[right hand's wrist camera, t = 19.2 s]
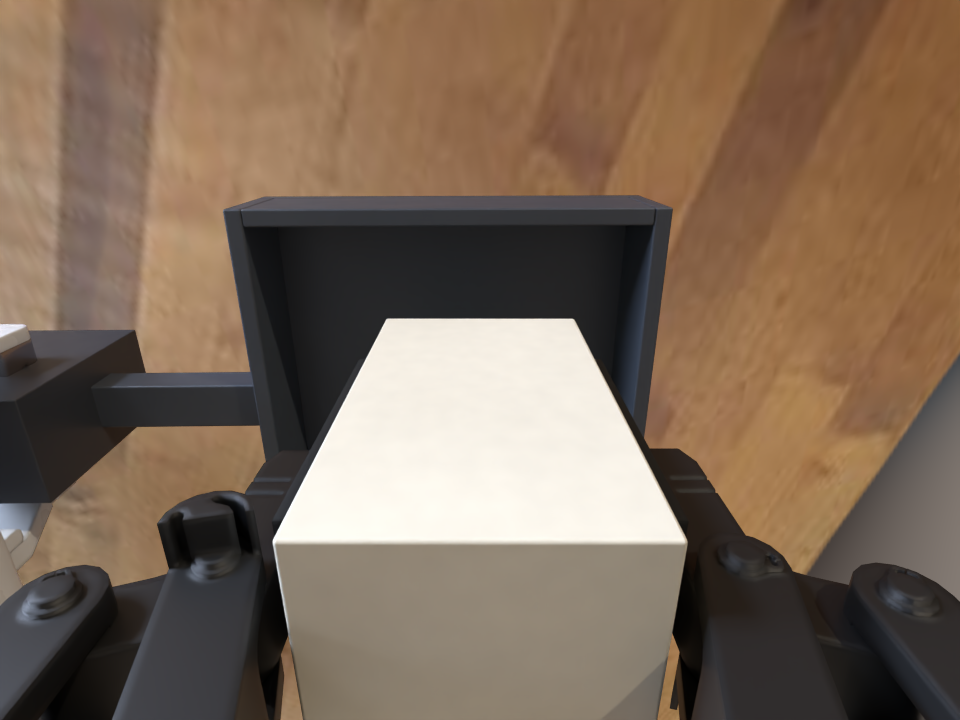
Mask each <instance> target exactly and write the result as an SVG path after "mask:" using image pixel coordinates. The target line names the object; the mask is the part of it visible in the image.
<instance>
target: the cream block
mask: <svg viewBox="0 0 960 720" xmlns="http://www.w3.org/2000/svg"><path fill="white" fill-rule="evenodd" d="M687 544H688V541H687V539H686V537H685V535H684V533H683V531H682V529H681V527H680V525H679V523H678V521H677V519H676V517H675V515H674V513H673V511H672V509H671V507H670V505H669V503H668V501H667V499H666V498H665V496H664V494H663V492H662V490H661V488H660V486H659V484H658V482H657V480H656V478H655V476H654V474H653V472H652V470H651V468H650V466H649V464H648V462H647V460H646V459H645V457H644V455H643V453H642V451H641V449H640V447H639V445H638V443H637V441H636V439H635V437H634V435H633V433H632V431H631V429H630V427H629V425H628V423H627V421H626V419H625V418H624V416H623V414H622V412H621V410H620V408H619V406H618V404H617V402H616V400H615V398H614V396H613V394H612V392H611V390H610V388H609V386H608V384H607V382H606V380H605V379H604V377H603V375H602V373H601V371H600V369H599V367H598V365H597V363H596V361H595V359H594V357H593V355H592V353H591V351H590V349H589V347H588V345H587V343H586V341H585V339H584V338H583V336H582V334H581V332H580V330H579V328H578V326H577V324H576V322H575V320H574V319H386V321H385V323H384V325H383V327H382V329H381V331H380V333H379V335H378V337H377V339H376V340H375V342H374V344H373V346H372V348H371V350H370V352H369V354H368V356H367V358H366V360H365V362H364V364H363V366H362V368H361V370H360V372H359V374H358V376H357V377H356V379H355V381H354V383H353V385H352V387H351V389H350V391H349V393H348V395H347V397H346V399H345V401H344V403H343V405H342V407H341V409H340V411H339V412H338V414H337V416H336V418H335V420H334V422H333V424H332V426H331V428H330V430H329V432H328V434H327V436H326V438H325V440H324V442H323V444H322V446H321V448H320V449H319V451H318V453H317V455H316V457H315V459H314V461H313V463H312V465H311V467H310V469H309V471H308V473H307V475H306V477H305V479H304V481H303V483H302V484H301V486H300V488H299V490H298V492H297V494H296V496H295V498H294V500H293V502H292V504H291V506H290V508H289V510H288V512H287V514H286V516H285V518H284V520H283V521H282V523H281V525H280V527H279V529H278V531H277V533H276V535H275V537H274V539H273V547H274V553H275V559H276V565H277V571H278V576H279V582H280V588H281V594H282V600H283V605H284V611H285V617H286V623H287V629H288V634H289V640H290V646H291V652H292V658H293V663H294V669H295V675H296V681H297V687H298V692H299V698H300V704H301V710H302V716H303V720H657V717H658V711H659V705H660V699H661V694H662V688H663V682H664V676H665V671H666V665H667V659H668V653H669V648H670V642H671V636H672V630H673V625H674V619H675V613H676V607H677V602H678V596H679V590H680V585H681V579H682V573H683V567H684V562H685V556H686V550H687Z"/></svg>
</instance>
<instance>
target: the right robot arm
mask: <svg viewBox="0 0 960 720" xmlns="http://www.w3.org/2000/svg"><path fill="white" fill-rule="evenodd" d="M365 360H366V359H359V361H358V363H357V364H356V366H355V368H354V370H353V372H352V374H351V376H350V377H349V379H348V381H347V383H346V385H345V387H344V388H343V390H342V392H341V394H340V396H339V398H338V400H337V401H336V403H335V405H334V407H333V409H332V411H331V412H330V414H329V416H328V418H327V420H326V422H325V424H324V425H323V427H322V429H321V431H320V433H319V435H318V436H317V438H316V440H315V442H314V444H313V446H312V448H311V449H310V450H282V451H281V452H279V453H278V454H277V455H275V456H274V457H272V458H271V459H270V460H268V461H267V462H266V463H264V464H263V466H262V467H261V469H260V470H259V472H258V473H257V475H256V477H255V478H254V482H252V483H251V484H250V486H249V487H248V489H247V490H246V492H245V494H242V493H238V492H234V491H214V492H209V493H205V494H201V495H197V496H194V497H192V498H190V499H187V500H185V501H183V502H180V503H179V504H177V505H176V506H174V507H173V508H172V509H170V510H169V511H167V512H166V513H165V514H164V515H163V517H162V518H161V519H160V521H159V522H158V523H157V526H158V529H159V533H160V537H161V541H162V544H163V548H164V552H165V556H166V560H167V563H168V567H169V570H168V573H167V574H165V575H162V576H158V577H155V578H151V579H147V580H142V581H138V582H133V583H129V584H124V585H120V586H115V587H112V585H111V582H110V579H109V576H108V574H107V573H106V572H105V571H104V570H102V569H101V568H100V567H95V566H89V565H80V566H72V567H66V568H63V569H60V570H57V571H53V572H50V573H47V574H45V575H43V576H41V577H39V578H37V579H35V580H33V581H31V582H29V583H28V584H26V585H24V586H23V587H22V588H20V589H19V590H18V591H16V592H15V593H14V594H13V595H11V596H10V597H9V598H7V599H6V600H5V601H4V602H3V603H2V604H1V605H0V720H280V718H281V707H282V696H283V684H284V671H283V665H282V659H281V653H282V650H283V647H284V645H285V642H286V640H287V637H288V629H287V623H286V617H285V611H284V605H283V600H282V594H281V588H280V582H279V576H278V571H277V565H276V559H275V553H274V547H273V539H274V537H275V535H276V533H277V531H278V529H279V527H280V525H281V523H282V521H283V520H284V518H285V516H286V514H287V512H288V510H289V508H290V506H291V504H292V502H293V500H294V498H295V496H296V494H297V492H298V490H299V488H300V486H301V484H302V483H303V481H304V479H305V477H306V475H307V473H308V471H309V469H310V467H311V465H312V463H313V461H314V459H315V457H316V455H317V453H318V451H319V449H320V448H321V446H322V444H323V442H324V440H325V438H326V436H327V434H328V432H329V430H330V428H331V426H332V424H333V422H334V420H335V418H336V416H337V414H338V412H339V411H340V409H341V407H342V405H343V403H344V401H345V399H346V397H347V395H348V393H349V391H350V389H351V387H352V385H353V383H354V381H355V379H356V377H357V376H358V374H359V372H360V370H361V368H362V366H363V364H364V362H365ZM595 361H596V363H597V365H598V367H599V369H600V371H601V373H602V375H603V377H604V379H605V380H606V382H607V384H608V386H609V388H610V390H611V392H612V394H613V396H614V398H615V400H616V402H617V404H618V406H619V408H620V410H621V412H622V414H623V416H624V418H625V419H626V421H627V423H628V425H629V427H630V429H631V431H632V433H633V435H634V437H635V439H636V441H637V443H638V445H639V447H640V449H641V451H642V453H643V455H644V457H645V459H646V460H647V462H648V464H649V466H650V468H651V470H652V472H653V474H654V476H655V478H656V480H657V482H658V484H659V486H660V488H661V490H662V492H663V494H664V496H665V498H666V499H667V501H668V503H669V505H670V507H671V509H672V511H673V513H674V515H675V517H676V519H677V521H678V523H679V525H680V527H681V529H682V531H683V533H684V535H685V537H686V539H687V541H688V544H687V550H686V556H685V562H684V567H683V573H682V579H681V585H680V590H679V596H678V602H677V607H676V613H675V619H674V625H673V630H672V633H673V636H674V639H675V641H676V644H677V646H678V649H679V651H680V654H679V659H678V664H677V670H676V675H675V681H674V686H673V692H672V697H671V704H670V709H675V710H677V707H678V705H679V716H680V720H960V602H959V601H958V600H957V599H956V598H955V597H954V596H953V595H952V594H951V593H949V592H948V591H947V590H945V589H944V588H943V587H942V586H940V585H939V584H938V583H936V582H934V581H932V580H930V579H929V578H927V577H925V576H923V575H921V574H919V573H917V572H915V571H912V570H909V569H905V568H903V567H899V566H896V565H890V564H882V563H871V564H865V565H861V566H860V567H858V568H857V569H856V570H855V571H854V572H853V574H852V577H851V580H850V583H849V585H846V584H842V583H837V582H833V581H828V580H823V579H819V578H815V577H810V576H807V575H803V574H800V573H796V572H793V571H792V569H791V567H790V566H789V564H788V563H787V561H786V560H785V558H784V557H783V556H782V555H781V554H780V553H779V552H777V551H776V550H775V549H774V548H772V547H771V546H770V545H768V544H766V543H764V542H762V541H760V540H758V539H756V538H753V537H750V536H746V535H745V534H744V532H743V531H742V529H741V528H740V526H739V525H738V523H737V522H736V520H735V519H734V517H733V516H732V514H731V513H730V511H729V510H728V508H727V507H726V505H725V504H724V502H723V501H722V499H721V498H720V496H719V495H718V493H715V489H714V487H713V486H712V484H711V483H710V481H709V480H707V477H706V475H705V474H704V472H703V471H702V469H701V468H700V466H699V465H698V463H697V462H696V461H695V460H693V459H692V458H691V457H689V456H688V455H686V454H685V453H684V452H682V451H681V450H679V449H649V447H648V445H647V443H646V441H645V439H644V438H643V436H642V434H641V432H640V430H639V428H638V427H637V425H636V423H635V421H634V419H633V417H632V415H631V414H630V412H629V410H628V408H627V406H626V404H625V403H624V401H623V399H622V397H621V395H620V393H619V391H618V390H617V388H616V386H615V384H614V382H613V380H612V379H611V377H610V375H609V373H608V371H607V369H606V367H605V366H604V364H603V362H602V360H601V359H595Z"/></svg>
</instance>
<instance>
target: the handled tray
mask: <svg viewBox="0 0 960 720" xmlns="http://www.w3.org/2000/svg"><path fill="white" fill-rule="evenodd" d="M672 211H673V209H672V208H671V207H668V206H666V205H663V204H660V203H657V202H655V201H652V200H649V199H646V198H643V197H641V196H638V195H619V196H329V197H262V198H259V199H256V200H253V201H250V202H246V203H243V204H240V205H237V206H233V207H230V208H227V209H224V210H223V213H224V219H225V225H226V231H227V237H228V243H229V249H230V254H231V260H232V266H233V272H234V278H235V284H236V290H237V295H238V301H239V307H240V313H241V319H242V325H243V330H244V336H245V342H246V348H247V354H248V360H249V366H250V371H251V372H214V373H146V372H145V368H144V364H143V360H142V356H141V352H140V348H139V344H138V340H137V336H136V332H135V330H67V331H29V334H30V338H31V340H32V344H33V347H34V350H35V354H36V357H37V361H36V362H35V363H34V364H32V365H30V366H24V368H23V369H22V370H20V371H18V372H16V373H14V374H12V375H10V376H8V377H0V504H17V503H52V502H53V501H54V500H55V499H56V498H57V497H58V496H60V495H61V494H62V493H63V492H64V491H65V490H66V489H67V488H69V487H70V486H71V485H72V484H73V483H74V482H75V481H77V480H78V479H79V478H80V477H81V476H82V475H83V474H84V473H86V472H87V471H88V470H89V469H90V468H91V467H92V466H93V465H95V464H96V463H97V462H98V461H99V460H100V459H101V458H102V457H104V456H105V455H106V454H107V453H108V452H109V451H110V450H111V449H113V448H114V447H115V446H116V445H117V444H118V443H119V442H121V441H122V440H123V439H124V438H125V437H126V436H127V435H128V434H130V433H131V432H132V431H133V430H134V429H135V428H136V427H165V426H255V425H260V430H261V436H262V442H263V447H264V453H265V459H266V462H267V461H268V460H270V459H271V458H272V457H274V456H275V455H277V454H278V453H279V452H281V451H282V450H310V449H311V448H312V446H313V444H314V442H315V440H316V438H317V436H318V435H319V433H320V431H321V429H322V427H323V425H324V424H325V422H326V420H327V418H328V416H329V414H330V412H331V411H332V409H333V407H334V405H335V403H336V401H337V400H338V398H339V396H340V394H341V392H342V390H343V388H344V387H345V385H346V383H347V381H348V379H349V377H350V376H351V374H352V372H353V370H354V368H355V366H356V364H357V363H358V361H359V359H366V358H367V356H368V354H369V352H370V350H371V348H372V346H373V344H374V342H375V340H376V339H377V337H378V335H379V333H380V331H381V329H382V327H383V325H384V323H385V321H386V319H574V320H575V322H576V324H577V326H578V328H579V330H580V332H581V334H582V336H583V338H584V339H585V341H586V343H587V345H588V347H589V349H590V351H591V353H592V355H593V357H594V359H601V360H602V362H603V364H604V366H605V367H606V369H607V371H608V373H609V375H610V377H611V379H612V380H613V382H614V384H615V386H616V388H617V390H618V391H619V393H620V395H621V397H622V399H623V401H624V403H625V404H626V406H627V408H628V410H629V412H630V414H631V415H632V417H633V419H634V421H635V423H636V425H637V427H638V428H639V430H640V432H641V434H642V436H643V438H644V434H645V426H646V418H647V410H648V402H649V394H650V386H651V378H652V370H653V362H654V354H655V346H656V338H657V330H658V322H659V315H660V307H661V299H662V291H663V283H664V275H665V267H666V259H667V251H668V243H669V235H670V227H671V219H672Z"/></svg>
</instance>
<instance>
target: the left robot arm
mask: <svg viewBox="0 0 960 720" xmlns="http://www.w3.org/2000/svg"><path fill="white" fill-rule="evenodd" d="M36 361H37V357H36V354H35V350H34V347H33V344H32V340H31V338H30V334H29V331H28V328H27V325H24V324H0V377H8V376H10V375H12V374H14V373H16V372H18V371H20V370H22V369H23V368H24V366H30V365H32V364H34V363H35V362H36ZM75 483H76V481H75V482H74V483H73V484H75ZM73 484H72V485H73ZM72 485H71V486H72ZM71 486H70V487H71ZM70 487H69V488H70ZM69 488H67V489H66V490H65V491H64V492H66V491H67V490H68V489H69ZM64 492H63V493H64ZM63 493H62V494H63ZM62 494H61V495H62ZM61 495H60V496H61ZM60 496H58V497H57V498H56V499H58V498H59V497H60ZM56 499H55V500H56ZM55 500H54V501H55ZM54 501H53V502H54ZM53 502H52V503H53ZM52 503H17V504H0V605H1V604H2V603H3V602H4V601H5V600H6V599H7V598H9V597H10V596H11V595H13V594H14V593H15V592H16V591H18V590H19V589H20V588H22V587H23V585H22V582H21V580H20V578H19V575H18V573H17V570H18V569H20V568H21V567H22V566H23V565H24V564H25V563H26V562H27V561H28V560H29V559H30V558H31V557H32V555H33V553H34V551H35V548H36V546H37V543H38V541H39V538H40V536H41V534H42V531H43V529H44V526H45V524H46V521H47V519H48V517H49V514H50V512H51V509H52V507H53V506H52Z"/></svg>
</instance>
